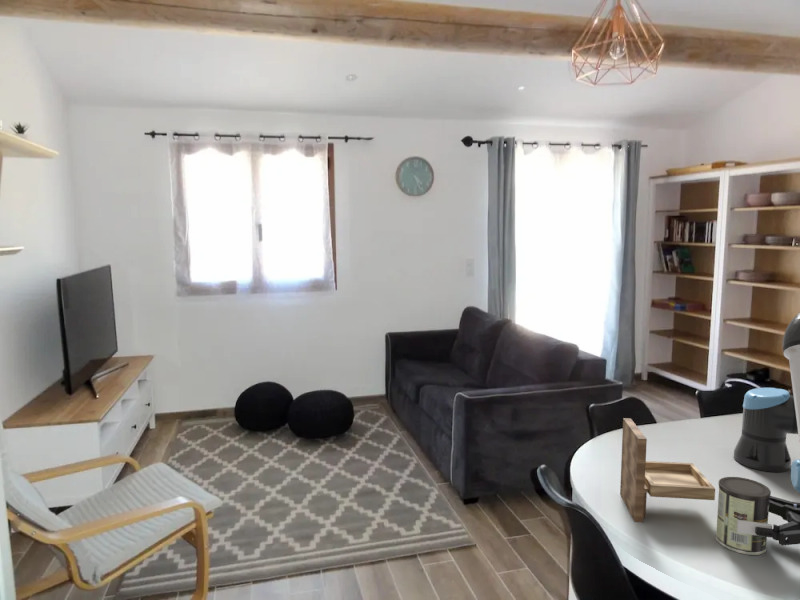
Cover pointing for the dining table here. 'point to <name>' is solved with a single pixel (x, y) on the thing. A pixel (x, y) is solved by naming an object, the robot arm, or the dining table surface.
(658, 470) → the bracket
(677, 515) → the dining table surface
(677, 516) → the dining table surface
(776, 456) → the robot arm
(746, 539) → the coffee can
